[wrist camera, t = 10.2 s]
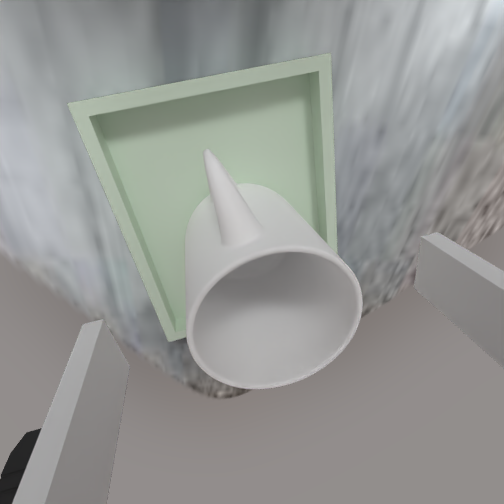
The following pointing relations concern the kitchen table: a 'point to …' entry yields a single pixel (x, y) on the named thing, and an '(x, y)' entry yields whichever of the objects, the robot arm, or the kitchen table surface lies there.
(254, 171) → the tray
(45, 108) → the kitchen table surface
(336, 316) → the mug
